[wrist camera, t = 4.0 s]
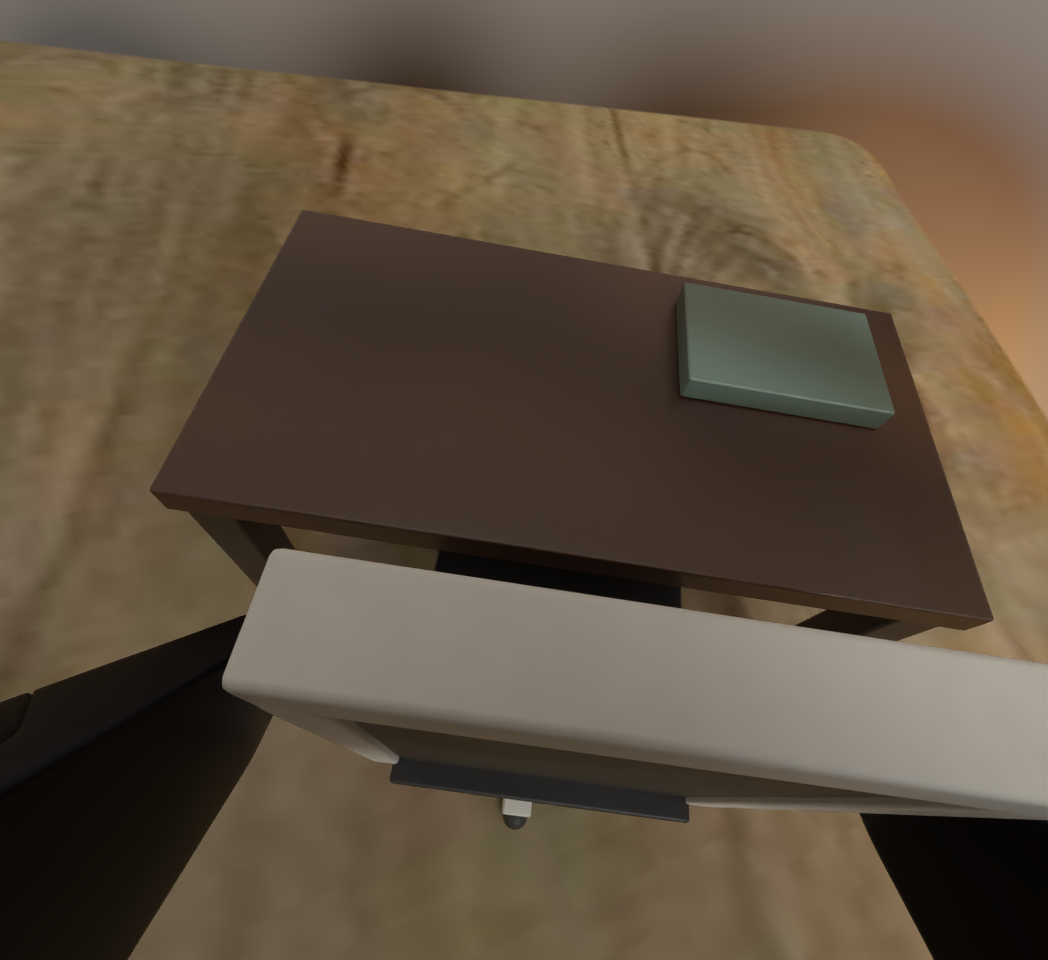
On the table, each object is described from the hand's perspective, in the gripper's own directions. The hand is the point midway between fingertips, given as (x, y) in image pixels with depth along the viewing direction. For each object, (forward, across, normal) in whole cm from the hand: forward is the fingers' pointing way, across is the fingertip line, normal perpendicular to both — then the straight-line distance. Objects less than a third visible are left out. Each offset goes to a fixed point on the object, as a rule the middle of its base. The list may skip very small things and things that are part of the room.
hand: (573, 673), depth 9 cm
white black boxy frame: (+6, 0, +4) cm, 7 cm away
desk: (+9, 0, +1) cm, 9 cm away
